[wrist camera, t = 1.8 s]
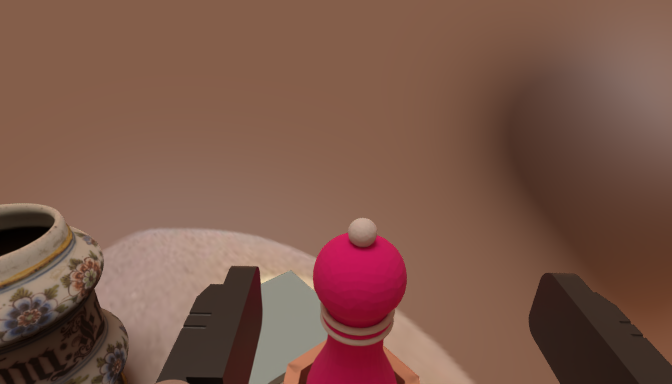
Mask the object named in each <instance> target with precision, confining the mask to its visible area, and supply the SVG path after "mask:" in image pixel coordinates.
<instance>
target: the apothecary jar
mask: <svg viewBox="0 0 672 384" xmlns="http://www.w3.org/2000/svg"><path fill="white" fill-rule="evenodd" d="M103 266H104V259H103V254H102V251H101V248H100V247H99V245H98V243H97V242H96V241H95V240H94V239H93V238H92V237H91V236H89V235H88V234H86V233H84V232H83V231H80V230H79V229H76V228H73V227H70V226H68V225H67V224H66V223H65V221H64V219H63V217H62V216H61V214H60V213H59V212H58V211H57V210H56V209H54V208H52V207H49V206H45V205H40V204H24V203H23V204H22V203H20V204H3V205H0V384H127V380H126V377H125V376H124V374H123V373H122V370H123V368H124V365H125V363H126V359H127V355H128V335H127V332H126V330H125V327H124V325H123V324H122V322H121V321H120V320H119V319H118V318H117V317H116V316H115V315H114V314H112V313H111V312H109V311H107V310H105V309H102V308H101V307H100V305H99V302H98V299H97V295H96V293H95V289H94V288H95V286H96V285H97V283H98V281H99V279H100V277H101V275H102V271H103Z"/></svg>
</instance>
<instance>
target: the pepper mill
mask: <svg viewBox="0 0 672 384" xmlns="http://www.w3.org/2000/svg"><path fill="white" fill-rule="evenodd" d="M313 283H314V289H315V291H316V294H317V296H318V298H319V300H320V301H321V303H320V308H321V313H320V319H321V323H322V326H323V328H324V329H325V331H326V332H327V333H328V337H327V341H326V343H325V345H324V347H323V348H322V350H321V351H320V353H319V354H318V356H317V357H316V358H315V360H314V362H313V364H312V366H311V369H310V371H309V374H308V377H307V383H306V384H397V381H396V378H395V374H394V371H393V368H392V366H391V364H390V362H389V360H388V358H387V356H386V354H385V352H384V350H383V339H384V338H385V337H386V336H387V335H388V334H389V332H390V331H391V329H392V326H393V322H394V319H393V317H394V314H395V308H396V307H397V306H398V304H399V303H400V301H401V299H402V297H403V295H404V293H405V289H406V284H407V274H406V268H405V264H404V261H403V258H402V257H401V255H400V253H399V252H398V250H397V249H396V248H395V247H394V246H393V245H392V244H391V243H390V242H388V241H387V240H386V239H385V238H382V237H380V236H378V235H377V228H376V226H375V224H374V223H373V222H372V221H371V220H369V219H367V218H359V219H356V220H355V221H353V222H352V223H351V225H350V226H349V229H348V233H346V234H342V235H339V236H337V237H335V238H333V239H332V240H331V241H329V242H328V243H327V244H326V245H325V246H324V247H323V248H322V250H321V251H320V253H319V255H318V257H317V259H316V262H315V266H314V271H313Z"/></svg>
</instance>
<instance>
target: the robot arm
mask: <svg viewBox="0 0 672 384" xmlns="http://www.w3.org/2000/svg"><path fill="white" fill-rule="evenodd" d="M262 318H263V306H262V294H261V282H260V271H259V267H257V266H231V267H230V269H229V272H228V274H227V276H226V279H225V281H224V284H210V285H209V286H208V287H207V288H206V289H205V290H204V291H203V292H202V293H201V294H200V295H199V296H197V298H196V300H195V302H194V304H193V306H192V308H191V310H190V314H189V315H188V317H187V319H186V321H185V323H184V327H183V328H182V329H181V331H180V333H179V336H178V338H177V340H176V342H175V344H174V346H173V348H172V350H171V352H170V354H169V357H168V359H167V361H166V363H165V365H164V367H163V369H162V371H161V373H160V375H159V378H158V379H157V381H156V383H155V384H249V380H250V376H251V371H252V367H253V363H254V359H255V354H256V350H257V346H258V341H259V337H260V333H261V327H262ZM529 327H530V331H531V334H532V336H533V338H534V340H535V342H536V343H537V345H538V347H539V348H540V350H541V352H542V354H543V355H544V357H545V359H546V360H547V362H548V364H549V365H550V367H551V369H552V370H553V372H554V374H555V376H556V377H557V379H558V381H559V382H560V384H672V365H671V364H670V363H669V362H668V361H667V360H666V359H665V358H664V357H663V356H662V355H661V354H660V352H659V351H657V349H656V348H655V347H654V346H653V345H652V344H651V343H650V342H649V341H648V340H647V338H643V334H642V333H641V332H640V331H639V330H638V329H637V328H636V327H635V326H634V325H631V322H630V320H629V319H628V318H627V317H626V316H625V315H624V314H623V313H622V312H621V311H620V310H619V308H618V307H617V306H616V305H614V304H613V303H611V302H610V301H608V300H607V299H605V298H604V297H602V296H601V295H600V294H598V293H596V292H593V291H592V290H591V289H590V288H589V287H588V286H587V285H586V284H585V283H584V281H583V280H582V279H581V278H580V277H579V276H578V275H576V274H573V273H545V274H544V275H543V276H542V277H541V280H540V283H539V286H538V289H537V292H536V295H535V298H534V301H533V305H532V308H531V311H530V314H529Z"/></svg>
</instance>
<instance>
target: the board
mask: <svg viewBox="0 0 672 384" xmlns="http://www.w3.org/2000/svg"><path fill="white" fill-rule="evenodd" d="M261 294H262V306H263V318H262V327H261V333H260V337H259V341H258V346H257V350H256V354H255V359H254V363H253V367H252V371H251V376H250V380H249V384H279V383H281V382H282V381H284V378H285V374H286V369H287V365H288V364H289V363H290V362H292V361H293V360H295V359H296V358H298V357H300V356H301V355H303V354H304V353H306V352H308V351H309V350H311V349H312V348H314V347H315V346H317V345H319V344H320V343H322V342H323V341H325V340H327V337H328V333H327V332H326V331H325V329H324V328H323V326H322V323H321V319H320V313H321V308H320V303H321V301H320V300H319V298H318V296H317V294H316V292H315V291H314V290H312V289H311V288H310V287H309V286H308V285H307V284H306V283H305V282H304V281H302V280H301V279H300V278H299V277H298V276H297V275H296V274H295V273H293V272H292V271H291V270H290V271H288V272H286V273H284V274H282V275H279V276H277V277H275V278H273V279H271V280H269V281H266V282H264V283H262V284H261Z"/></svg>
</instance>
